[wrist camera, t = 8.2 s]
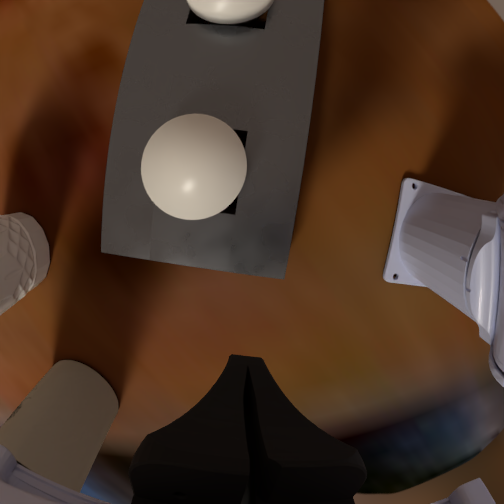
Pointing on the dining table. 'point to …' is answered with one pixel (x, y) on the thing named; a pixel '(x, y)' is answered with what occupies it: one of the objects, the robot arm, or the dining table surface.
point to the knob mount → (227, 110)
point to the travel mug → (62, 424)
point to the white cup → (21, 257)
